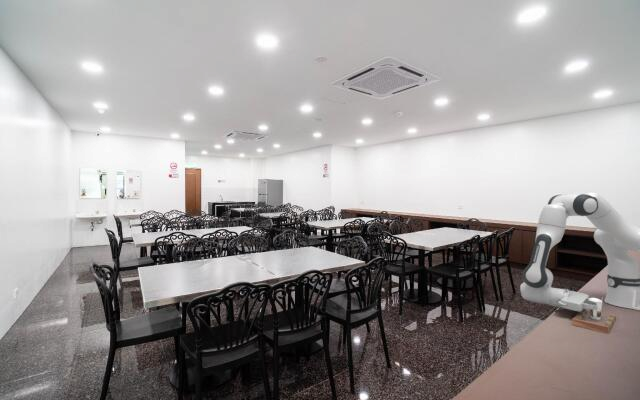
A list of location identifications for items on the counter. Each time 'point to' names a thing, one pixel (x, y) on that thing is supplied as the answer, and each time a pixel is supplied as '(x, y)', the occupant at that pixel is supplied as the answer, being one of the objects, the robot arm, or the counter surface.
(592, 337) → the counter surface
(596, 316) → the milkshake
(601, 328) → the rail guide
